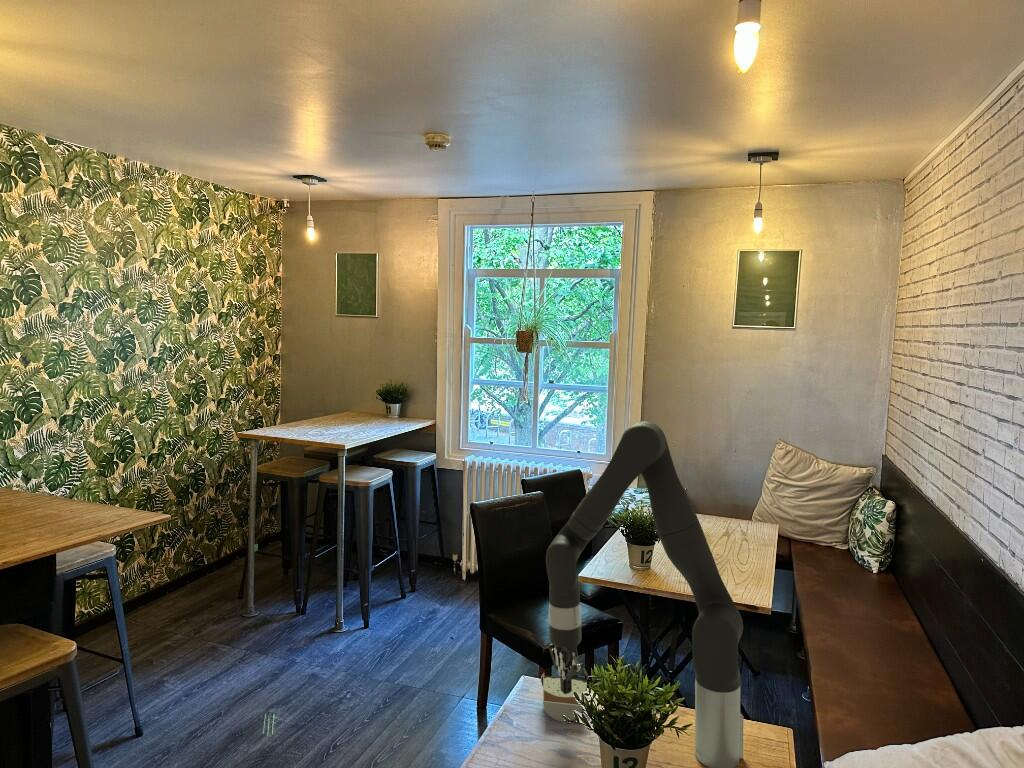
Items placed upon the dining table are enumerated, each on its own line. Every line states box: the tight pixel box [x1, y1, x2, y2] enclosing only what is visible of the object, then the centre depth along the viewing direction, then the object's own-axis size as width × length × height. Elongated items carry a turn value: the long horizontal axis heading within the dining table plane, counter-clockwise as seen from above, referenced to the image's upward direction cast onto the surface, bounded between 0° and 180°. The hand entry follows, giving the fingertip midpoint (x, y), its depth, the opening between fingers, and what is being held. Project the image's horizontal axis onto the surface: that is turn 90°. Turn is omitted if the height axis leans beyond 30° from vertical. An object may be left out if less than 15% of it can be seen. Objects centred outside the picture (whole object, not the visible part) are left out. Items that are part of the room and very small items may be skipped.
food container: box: [540, 673, 588, 722], centre depth 160 cm, size 12×6×10 cm
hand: (566, 691), depth 153 cm, fingers closed
